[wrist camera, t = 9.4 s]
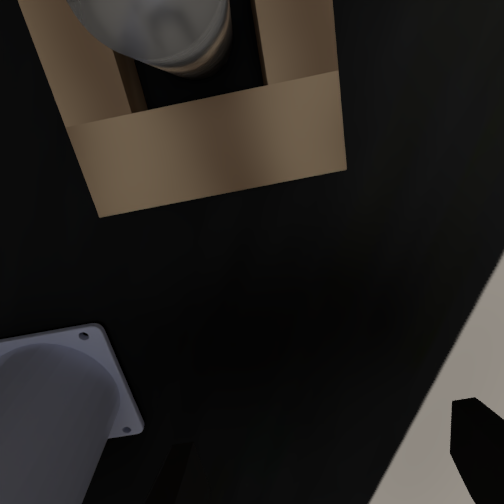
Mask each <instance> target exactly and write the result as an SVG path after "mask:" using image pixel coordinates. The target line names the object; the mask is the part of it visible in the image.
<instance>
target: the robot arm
mask: <svg viewBox="0 0 504 504" xmlns="http://www.w3.org/2000/svg"><path fill="white" fill-rule="evenodd" d="M82 332H85V333H87V334H88V335H89V336H86V335H84V334H83V333H82ZM451 418H452V419H451V441H450V454H451V456H452V458H453V460H454V462H455V465H456V467H457V469H458V471H459V473H460V475H461V477H462V479H463V481H464V483H465V485H466V487H467V489H468V491H469V493H470V495H471V497H472V499H473V500H474V502H475V503H476V504H504V420H503V419H502V418H501V417H500V416H498V415H497V414H496V413H495V412H493V411H492V410H491V409H490V408H488V407H487V406H486V405H484V404H483V403H482V402H481V401H479V400H478V399H476V398H475V397H474V398H468V399H462V400H455V401H452V416H451ZM128 427H129V428H128ZM143 428H144V421H143V419H142V416H141V414H140V412H139V409H138V407H137V405H136V402H135V400H134V398H133V395H132V393H131V391H130V388H129V386H128V384H127V381H126V379H125V377H124V374H123V372H122V370H121V367H120V365H119V362H118V360H117V358H116V355H115V353H114V351H113V348H112V346H111V344H110V341H109V339H108V337H107V334H106V332H105V330H104V328H103V327H102V326H101V325H100V324H97V323H90V324H84V325H79V326H73V327H67V328H62V329H56V330H51V331H45V332H39V333H34V334H28V335H23V336H17V337H11V338H6V339H0V504H82V502H83V499H84V497H85V494H86V492H87V489H88V487H89V484H90V482H91V479H92V477H93V474H94V472H95V469H96V467H97V464H98V462H99V459H100V457H101V454H102V452H103V449H104V447H105V444H106V442H107V439H109V438H115V437H121V436H127V435H134V434H138V433H141V432H142V431H143ZM143 504H210V486H209V484H208V481H207V478H206V475H205V472H204V470H203V467H202V464H201V461H200V459H199V456H198V453H197V450H196V448H195V445H194V442H190V443H183V444H177V445H172V447H171V448H170V449H169V451H168V454H167V456H166V458H165V460H164V462H163V464H162V466H161V469H160V471H159V473H158V475H157V477H156V479H155V481H154V483H153V485H152V487H151V489H150V491H149V493H148V495H147V497H146V499H145V501H144V503H143Z"/></svg>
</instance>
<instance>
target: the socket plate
mask: <svg viewBox="0 0 504 504" xmlns="http://www.w3.org/2000/svg"><path fill="white" fill-rule="evenodd" d="M18 2H19V5H20V7H21V10H22V13H23V15H24V18H25V21H26V23H27V26H28V29H29V31H30V34H31V37H32V39H33V42H34V45H35V47H36V50H37V53H38V55H39V58H40V61H41V63H42V66H43V69H44V71H45V74H46V76H47V79H48V82H49V84H50V87H51V90H52V92H53V95H54V98H55V100H56V103H57V106H58V108H59V111H60V114H61V116H62V119H63V122H64V124H65V127H66V130H67V132H68V135H69V138H70V140H71V143H72V146H73V148H74V151H75V154H76V156H77V159H78V162H79V164H80V167H81V169H82V172H83V175H84V177H85V180H86V183H87V185H88V188H89V191H90V193H91V196H92V199H93V201H94V204H95V207H96V209H97V212H98V215H99V217H105V216H110V215H116V214H121V213H126V212H131V211H136V210H141V209H146V208H152V207H157V206H162V205H167V204H172V203H177V202H182V201H188V200H193V199H198V198H203V197H208V196H213V195H218V194H224V193H229V192H234V191H239V190H244V189H249V188H254V187H260V186H265V185H270V184H275V183H280V182H285V181H290V180H296V179H301V178H306V177H311V176H316V175H321V174H326V173H332V172H337V171H342V170H347V167H346V155H345V143H344V132H343V120H342V108H341V96H340V84H339V73H338V61H337V49H336V37H335V25H334V13H333V2H332V0H250V3H251V9H252V15H253V21H254V28H255V34H256V40H257V46H258V52H259V59H260V65H261V71H262V77H263V83H264V86H261V87H257V88H252V89H247V90H242V91H237V92H233V93H228V94H223V95H218V96H214V97H209V98H204V99H199V100H194V101H190V102H185V103H180V104H175V105H170V106H166V107H161V108H156V109H151V110H148V108H147V104H146V101H145V97H144V94H143V90H142V87H141V83H140V80H139V76H138V73H137V69H136V65H135V62H134V59H133V58H131V57H128V56H126V55H123V54H121V53H118V52H116V51H114V50H112V49H110V48H109V47H107V46H106V45H104V44H103V43H101V42H100V41H98V40H97V39H96V38H95V37H94V36H93V35H92V34H90V33H89V32H88V30H87V29H86V28H85V27H84V26H83V25H82V24H81V23H80V21H79V20H78V18H77V17H76V16H75V14H74V13H73V11H72V9H71V8H70V6H69V4H68V3H67V1H66V0H18Z"/></svg>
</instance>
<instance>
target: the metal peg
mask: <svg viewBox="0 0 504 504" xmlns="http://www.w3.org/2000/svg"><path fill="white" fill-rule="evenodd" d="M66 1H67V3H68V4H69V6H70V8H71V9H72V11H73V13H74V14H75V16H76V17H77V18H78V20H79V21H80V23H81V24H82V25H83V26H84V27H85V28H86V29H87V30H88V32H89V33H90V34H92V35H93V36H94V37H95V38H96V39H97V40H98V41H100V42H101V43H103V44H104V45H106V46H107V47H109V48H110V49H112V50H114V51H116V52H118V53H121V54H123V55H126V56H128V57H131V58H133V59H136V60H138V61H141V62H143V63H146V64H148V65H151V66H154V67H156V68H159V69H161V70H164V71H166V72H169V73H171V74H174V75H176V76H179V77H182V78H184V79H188V80H202V79H206V78H209V77H211V76H213V75H214V74H216V73H217V72H218V71H219V70H220V69H221V68H222V67H223V66H224V65H225V63H226V62H227V60H228V58H229V55H230V53H231V49H232V44H233V28H232V20H231V12H230V4H229V0H66Z"/></svg>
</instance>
